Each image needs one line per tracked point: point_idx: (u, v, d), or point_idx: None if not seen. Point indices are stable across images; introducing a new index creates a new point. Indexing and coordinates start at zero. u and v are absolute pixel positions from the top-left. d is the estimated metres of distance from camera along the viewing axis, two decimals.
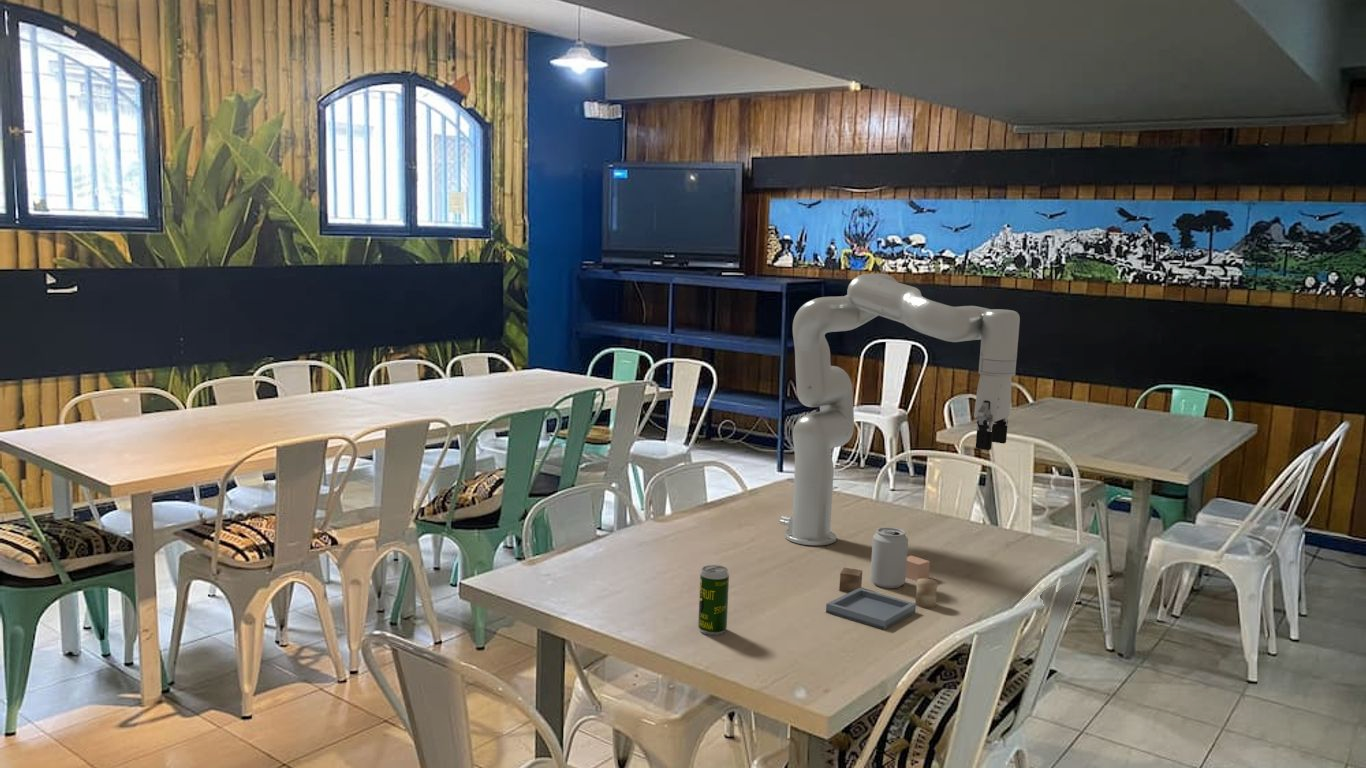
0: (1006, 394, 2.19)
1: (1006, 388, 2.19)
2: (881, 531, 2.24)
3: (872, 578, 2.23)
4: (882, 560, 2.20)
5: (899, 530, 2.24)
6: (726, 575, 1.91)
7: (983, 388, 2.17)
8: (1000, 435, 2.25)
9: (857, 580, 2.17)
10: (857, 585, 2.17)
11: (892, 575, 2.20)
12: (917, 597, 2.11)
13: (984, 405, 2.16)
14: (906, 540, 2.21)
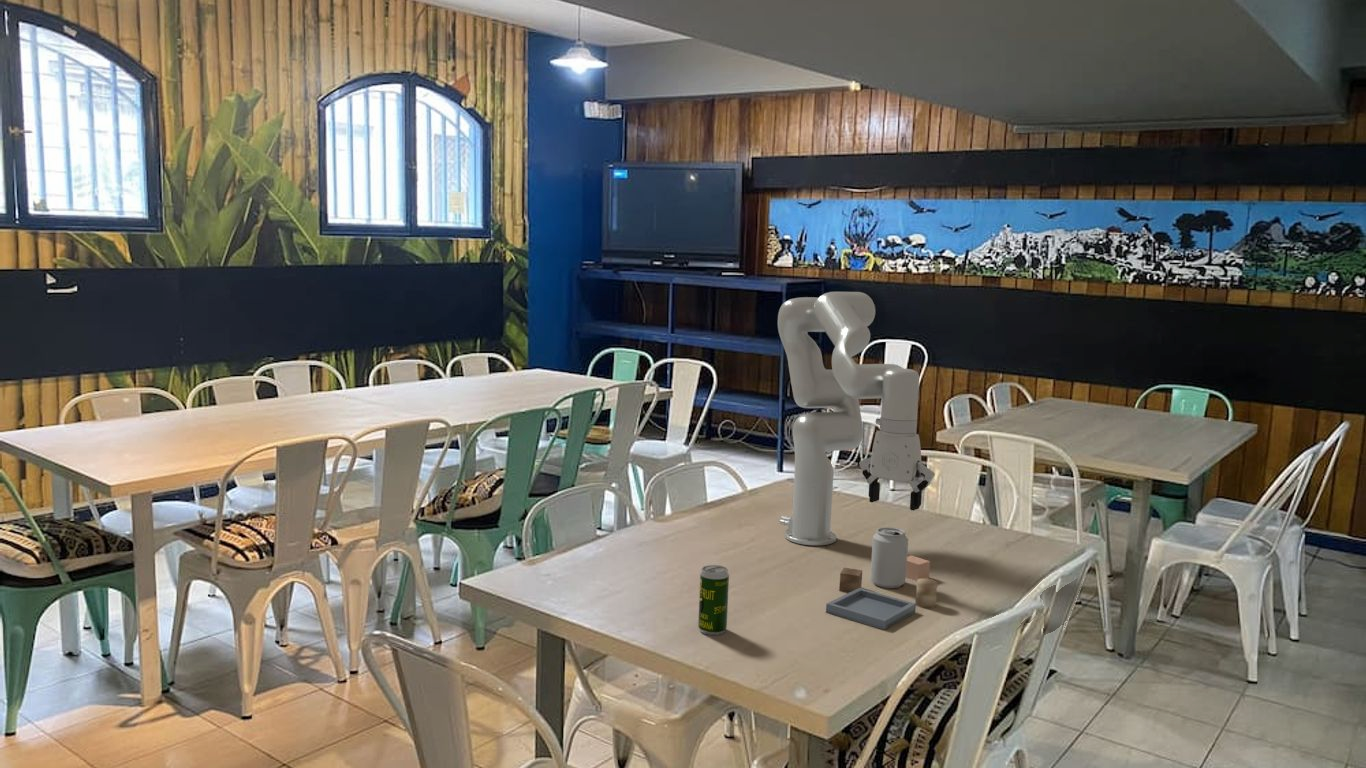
0: None
1: None
2: (881, 531, 2.24)
3: (872, 578, 2.23)
4: (882, 560, 2.20)
5: (899, 530, 2.24)
6: (726, 575, 1.91)
7: (916, 449, 2.16)
8: (877, 493, 2.24)
9: (857, 580, 2.17)
10: (857, 585, 2.17)
11: (892, 575, 2.20)
12: (917, 597, 2.11)
13: (922, 465, 2.16)
14: (906, 540, 2.21)
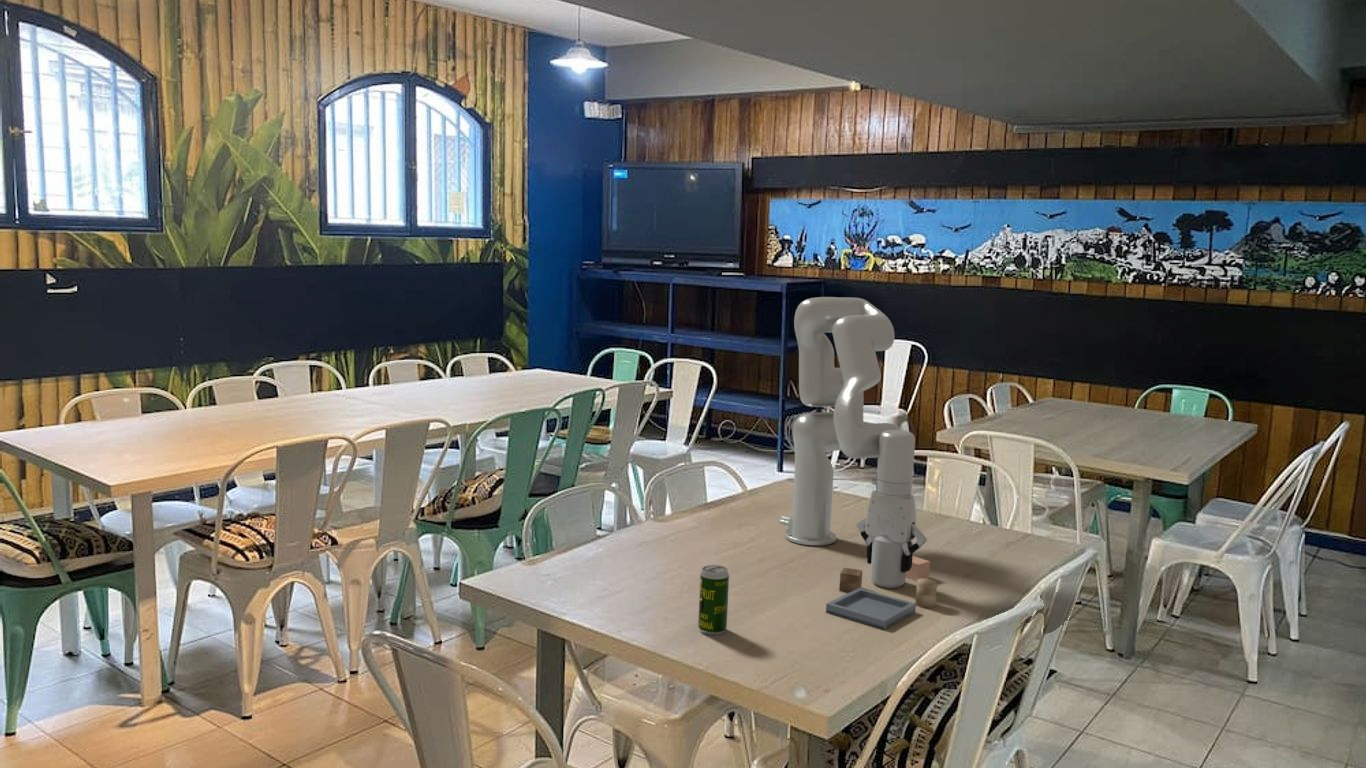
0: None
1: None
2: None
3: (872, 578, 2.23)
4: (882, 560, 2.20)
5: None
6: (726, 575, 1.91)
7: (911, 511, 2.18)
8: None
9: (857, 580, 2.17)
10: (857, 585, 2.17)
11: (892, 574, 2.20)
12: (917, 597, 2.11)
13: (916, 528, 2.18)
14: None
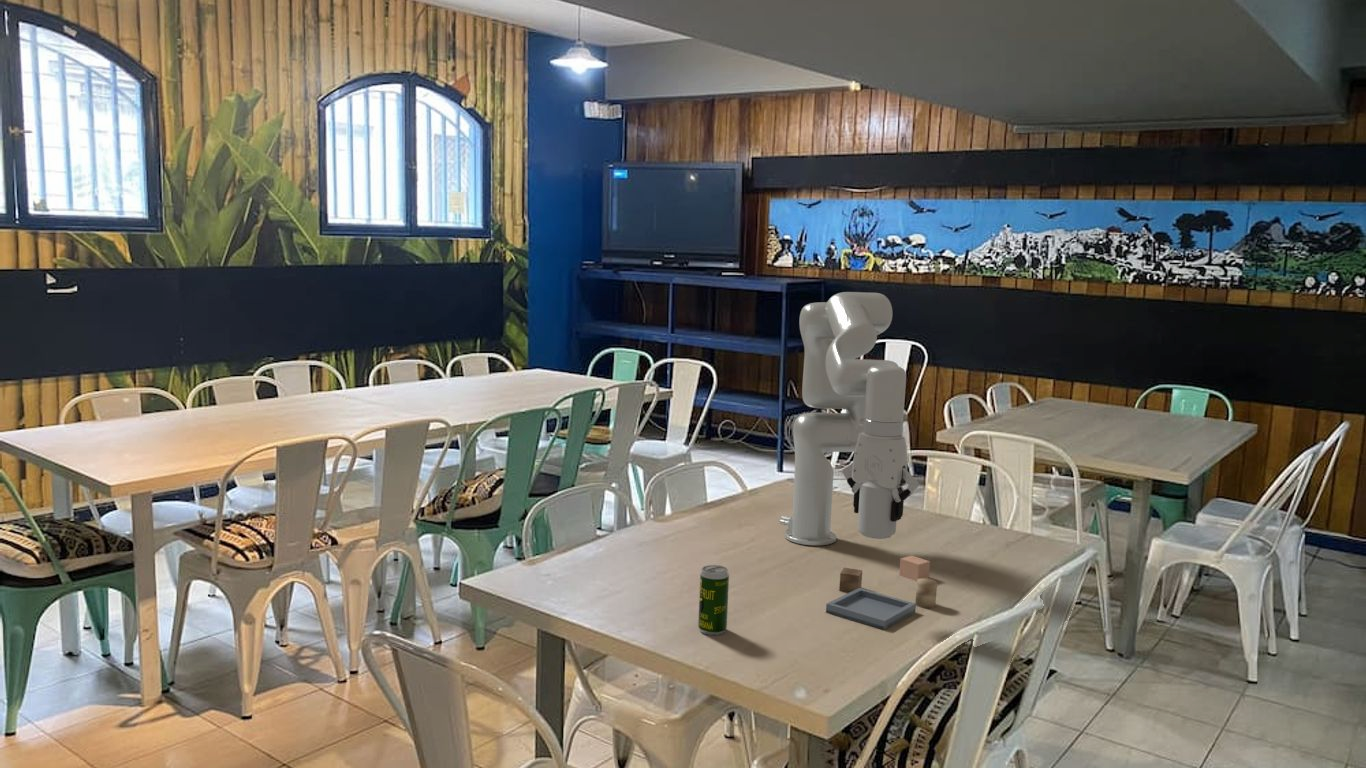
0: None
1: None
2: None
3: (859, 528, 2.03)
4: (870, 507, 2.01)
5: None
6: (726, 575, 1.91)
7: (901, 454, 1.98)
8: None
9: (857, 580, 2.17)
10: (857, 585, 2.17)
11: (881, 524, 2.00)
12: (917, 597, 2.11)
13: (907, 473, 1.99)
14: None
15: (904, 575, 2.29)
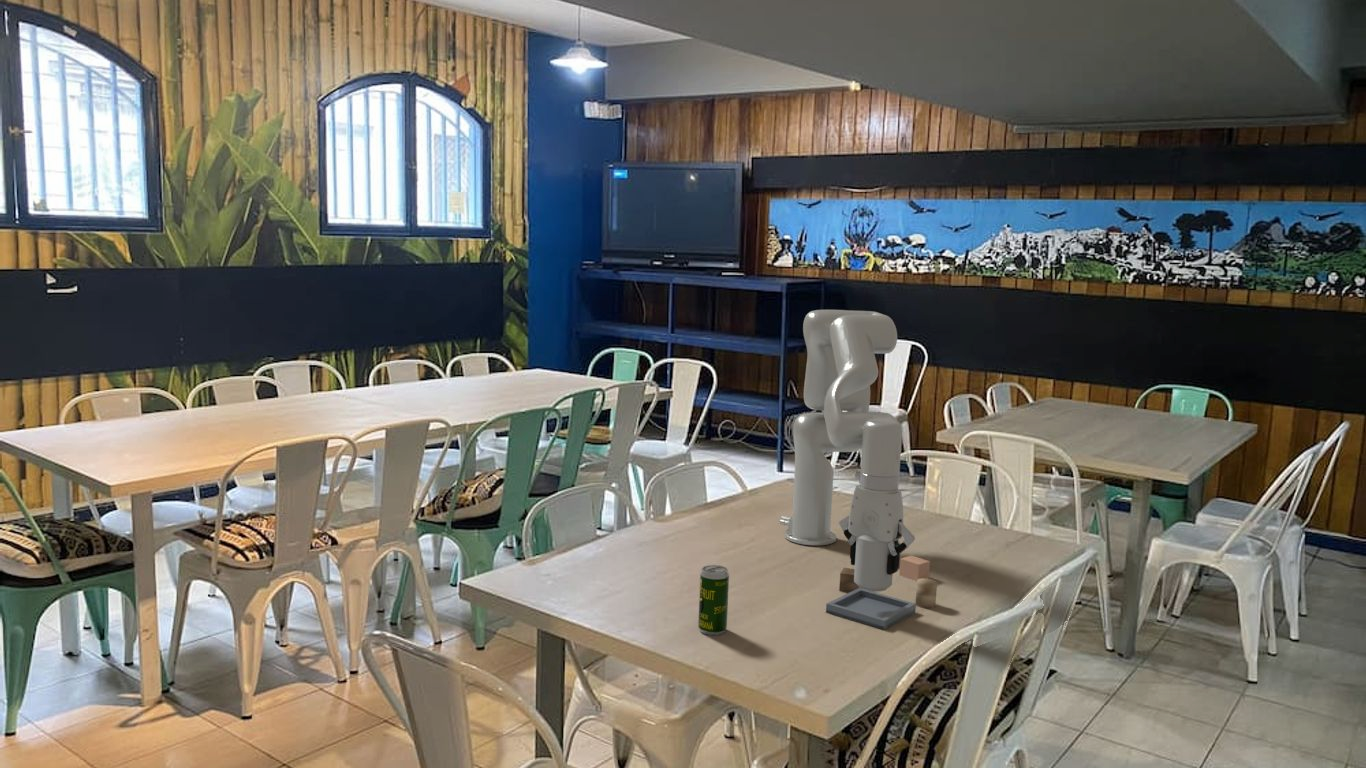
0: None
1: None
2: None
3: (856, 580, 2.05)
4: (866, 560, 2.02)
5: None
6: (726, 575, 1.91)
7: (897, 508, 1.99)
8: None
9: None
10: (857, 585, 2.17)
11: (877, 577, 2.02)
12: (917, 597, 2.11)
13: (903, 526, 2.00)
14: None
15: (904, 575, 2.29)
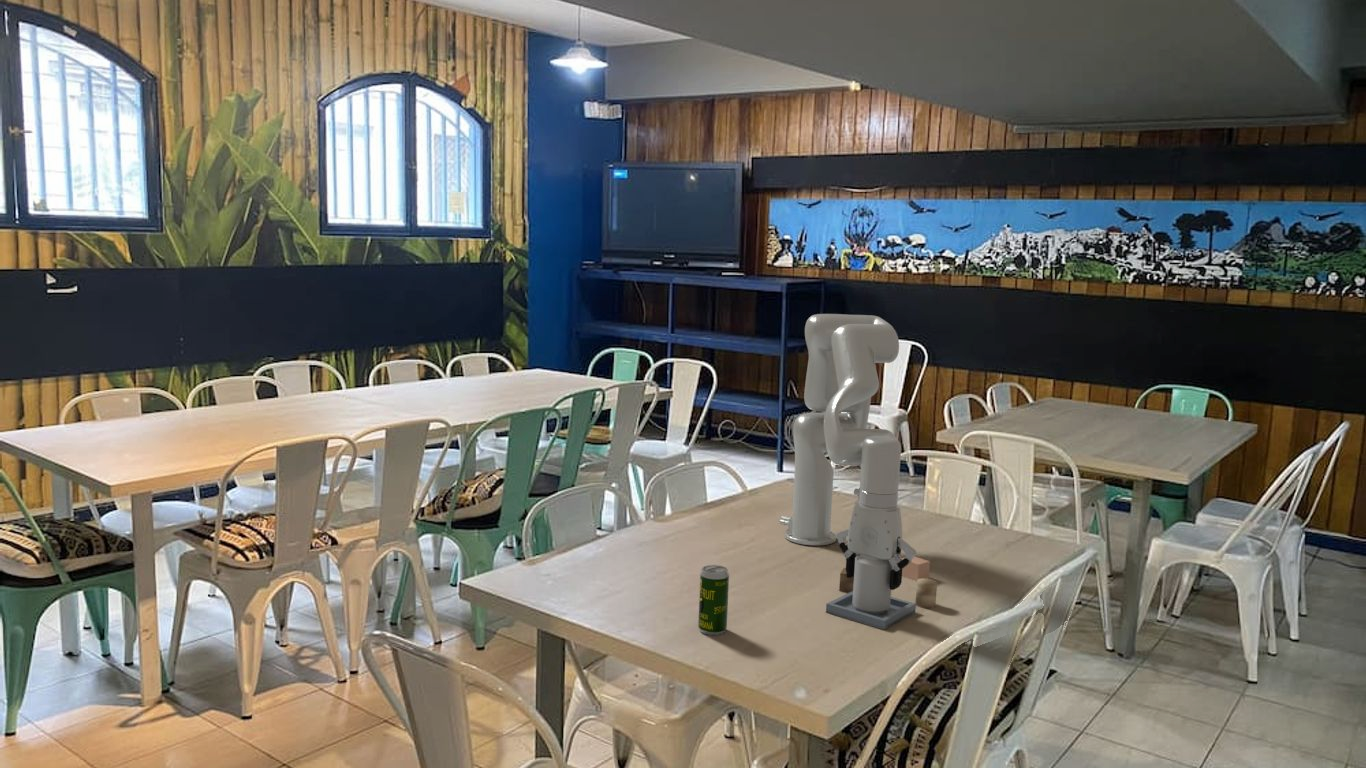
0: None
1: None
2: None
3: (854, 603, 2.05)
4: (865, 584, 2.03)
5: None
6: (726, 575, 1.91)
7: (896, 525, 2.00)
8: None
9: None
10: None
11: (876, 600, 2.03)
12: (917, 597, 2.11)
13: (903, 542, 2.00)
14: None
15: (904, 575, 2.29)
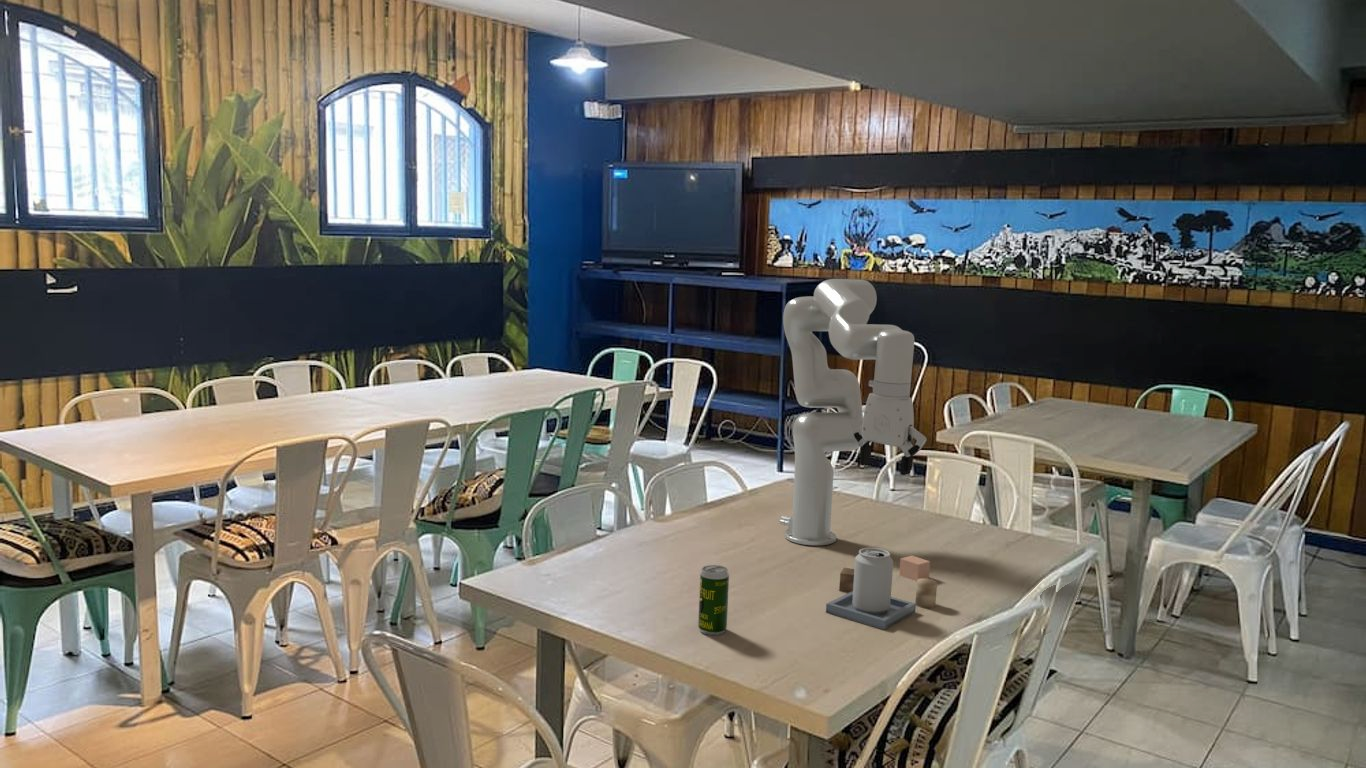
0: None
1: None
2: (864, 552, 2.06)
3: (854, 603, 2.05)
4: (865, 584, 2.03)
5: (884, 551, 2.07)
6: (726, 575, 1.91)
7: (908, 413, 2.11)
8: (868, 456, 2.20)
9: None
10: None
11: (876, 600, 2.03)
12: (917, 597, 2.11)
13: (914, 429, 2.11)
14: (891, 562, 2.03)
15: (904, 575, 2.29)
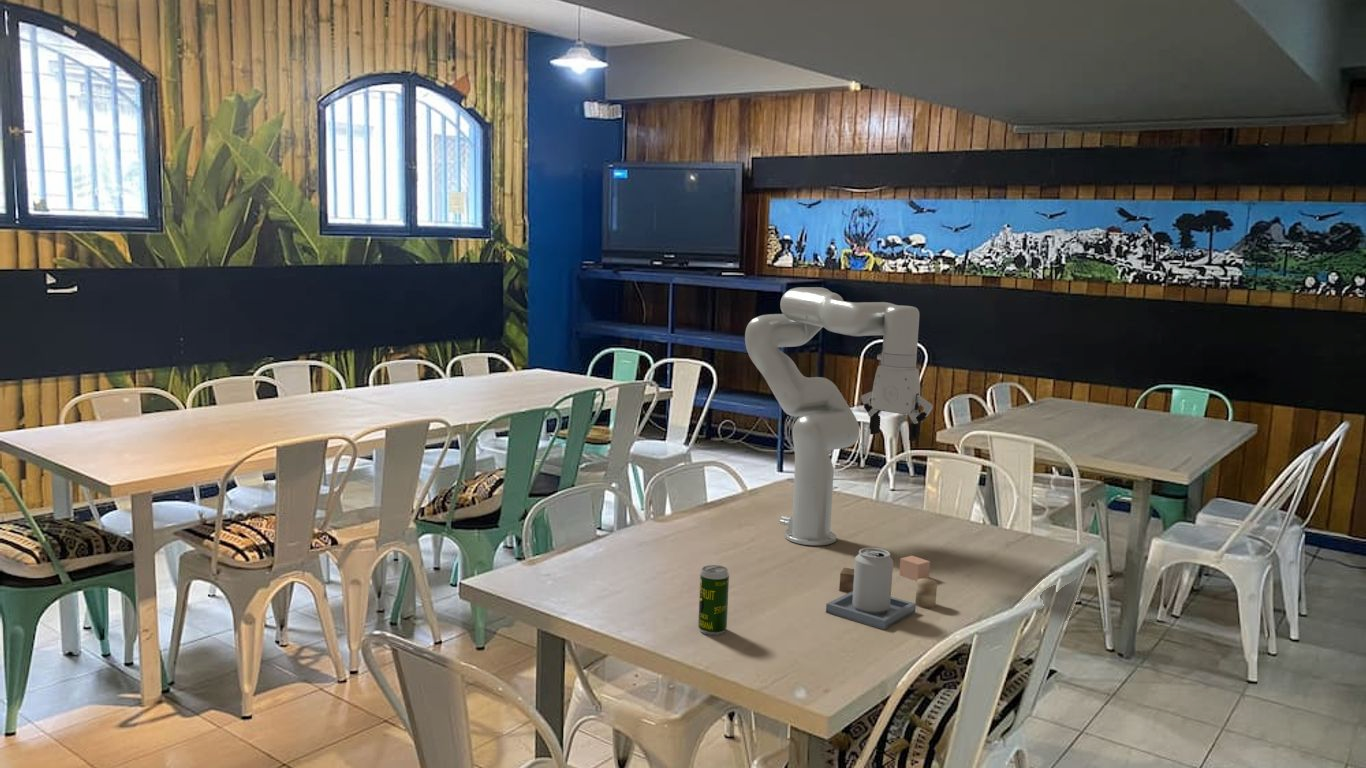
0: None
1: None
2: (864, 552, 2.06)
3: (854, 603, 2.05)
4: (865, 584, 2.03)
5: (884, 551, 2.07)
6: (726, 575, 1.91)
7: (915, 382, 2.25)
8: (877, 426, 2.34)
9: None
10: None
11: (876, 600, 2.03)
12: (917, 597, 2.11)
13: (921, 398, 2.26)
14: (891, 562, 2.03)
15: (904, 575, 2.29)
